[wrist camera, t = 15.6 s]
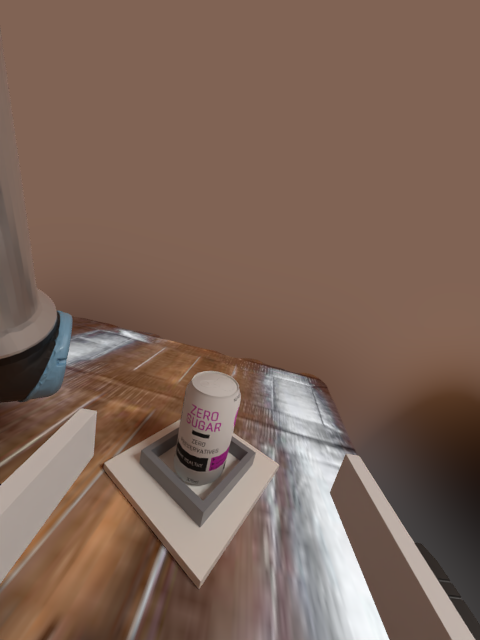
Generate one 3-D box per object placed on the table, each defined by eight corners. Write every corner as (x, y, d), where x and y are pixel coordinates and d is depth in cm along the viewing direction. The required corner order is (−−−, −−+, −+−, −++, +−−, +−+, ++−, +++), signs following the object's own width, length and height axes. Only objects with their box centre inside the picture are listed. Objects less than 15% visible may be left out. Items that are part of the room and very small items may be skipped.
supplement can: (217, 442, 42) (233, 370, 39) (229, 484, 35) (250, 399, 31) (172, 446, 39) (185, 368, 36) (174, 493, 32) (191, 400, 28)
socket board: (103, 469, 34) (105, 449, 33) (197, 413, 51) (200, 398, 50) (198, 589, 24) (204, 564, 23) (277, 470, 41) (282, 453, 40)
